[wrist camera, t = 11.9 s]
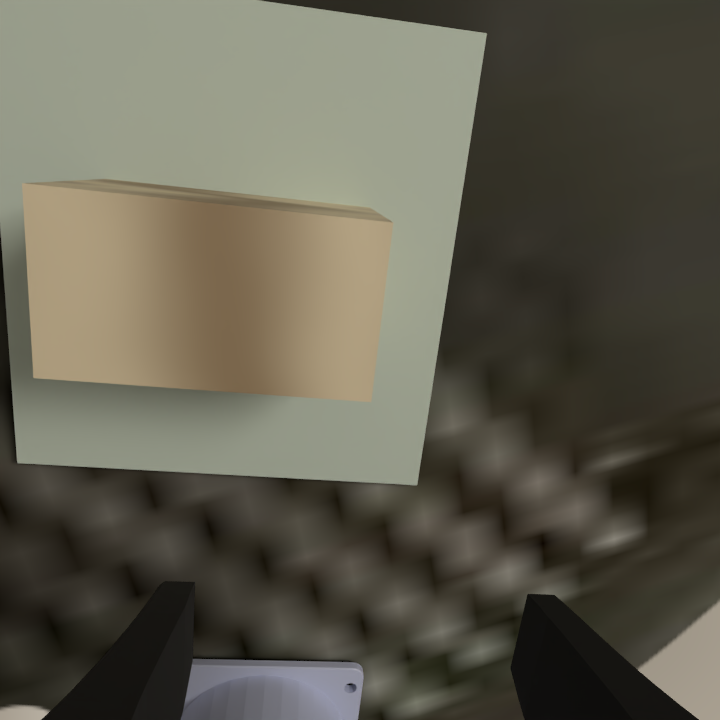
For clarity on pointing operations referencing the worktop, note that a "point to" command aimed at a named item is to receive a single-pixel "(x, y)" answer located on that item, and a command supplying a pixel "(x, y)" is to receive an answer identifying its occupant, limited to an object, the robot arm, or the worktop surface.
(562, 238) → the worktop surface
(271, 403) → the rubber mat
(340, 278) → the birch block
